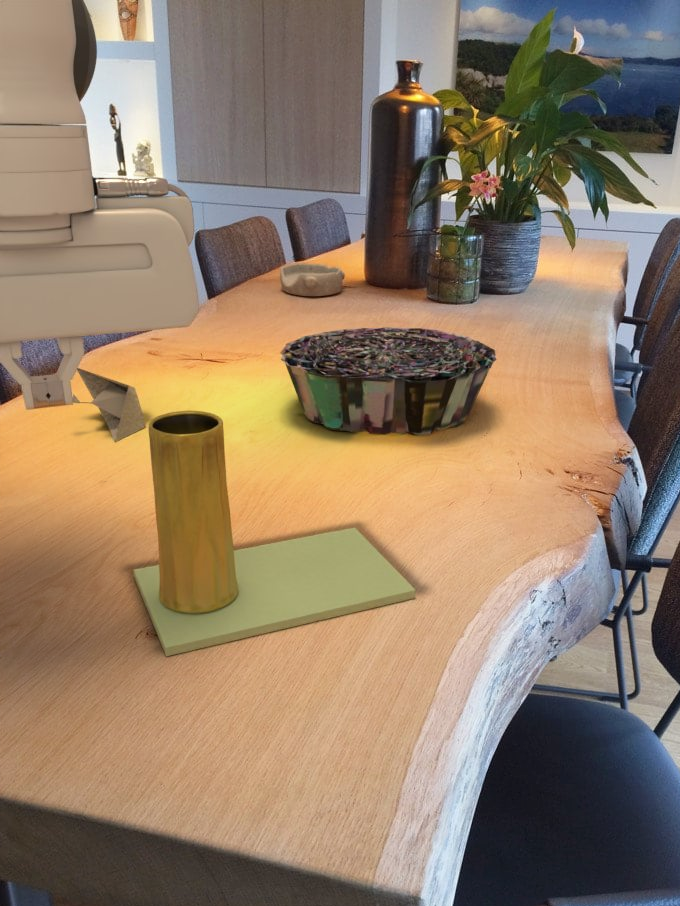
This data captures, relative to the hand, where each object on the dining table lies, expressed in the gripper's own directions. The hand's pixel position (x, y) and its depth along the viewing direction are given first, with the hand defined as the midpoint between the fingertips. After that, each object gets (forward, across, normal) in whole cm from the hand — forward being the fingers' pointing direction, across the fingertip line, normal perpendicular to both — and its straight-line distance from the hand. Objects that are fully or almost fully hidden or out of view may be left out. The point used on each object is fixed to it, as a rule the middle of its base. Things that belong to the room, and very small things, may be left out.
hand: (49, 405), depth 54 cm
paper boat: (+17, -9, -44) cm, 48 cm away
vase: (+17, -9, 0) cm, 19 cm away
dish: (+17, -63, -114) cm, 132 cm away
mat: (+18, -15, 0) cm, 23 cm away
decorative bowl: (+18, -43, -36) cm, 59 cm away
